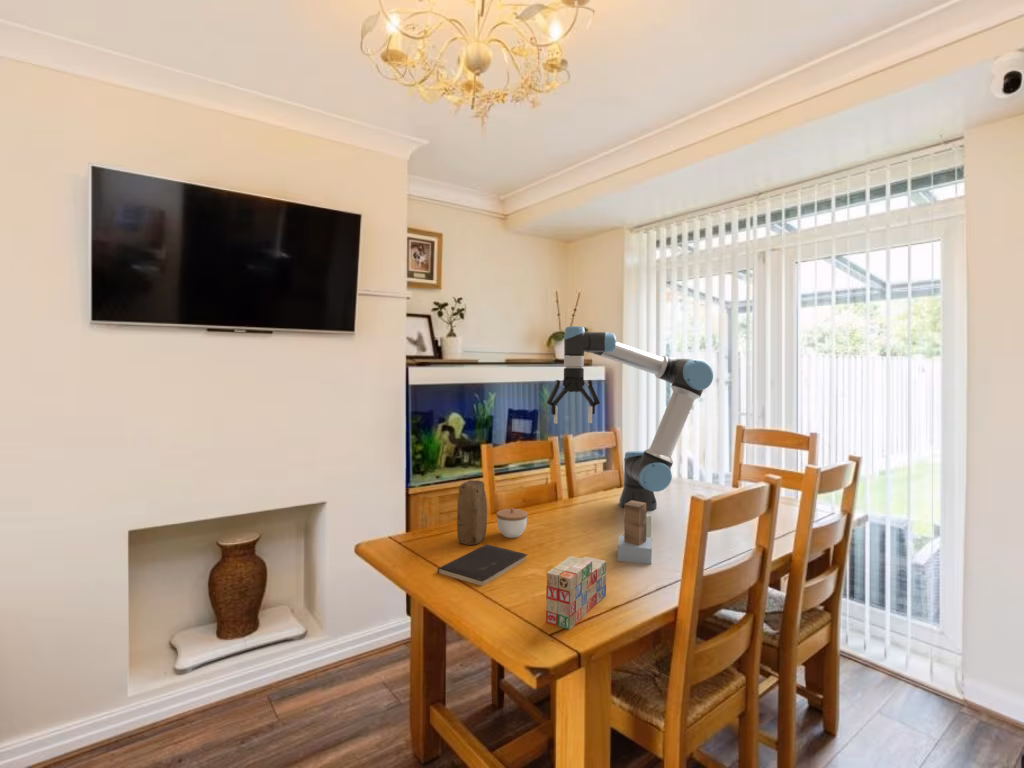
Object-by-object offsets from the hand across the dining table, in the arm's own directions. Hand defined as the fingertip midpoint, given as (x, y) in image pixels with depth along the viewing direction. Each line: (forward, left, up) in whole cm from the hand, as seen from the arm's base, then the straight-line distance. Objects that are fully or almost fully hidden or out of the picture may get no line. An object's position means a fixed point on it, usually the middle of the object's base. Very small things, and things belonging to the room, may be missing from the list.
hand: (572, 423), depth 204 cm
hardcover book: (+39, +42, -38) cm, 68 cm away
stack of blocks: (+19, +72, -37) cm, 83 cm away
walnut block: (-9, +41, -32) cm, 53 cm away
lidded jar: (+26, +16, -37) cm, 48 cm away
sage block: (-16, +28, -37) cm, 49 cm away
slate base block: (-9, +41, -37) cm, 56 cm away
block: (+40, +20, -37) cm, 58 cm away
